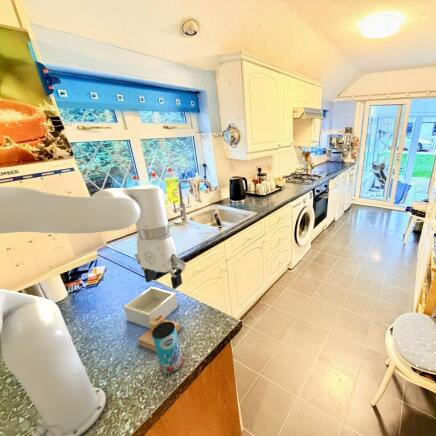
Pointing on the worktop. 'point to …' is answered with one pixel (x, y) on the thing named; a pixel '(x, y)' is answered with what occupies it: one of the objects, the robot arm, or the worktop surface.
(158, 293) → the white open box
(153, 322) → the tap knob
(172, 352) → the beverage can
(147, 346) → the flat wooden block
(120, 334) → the worktop surface
